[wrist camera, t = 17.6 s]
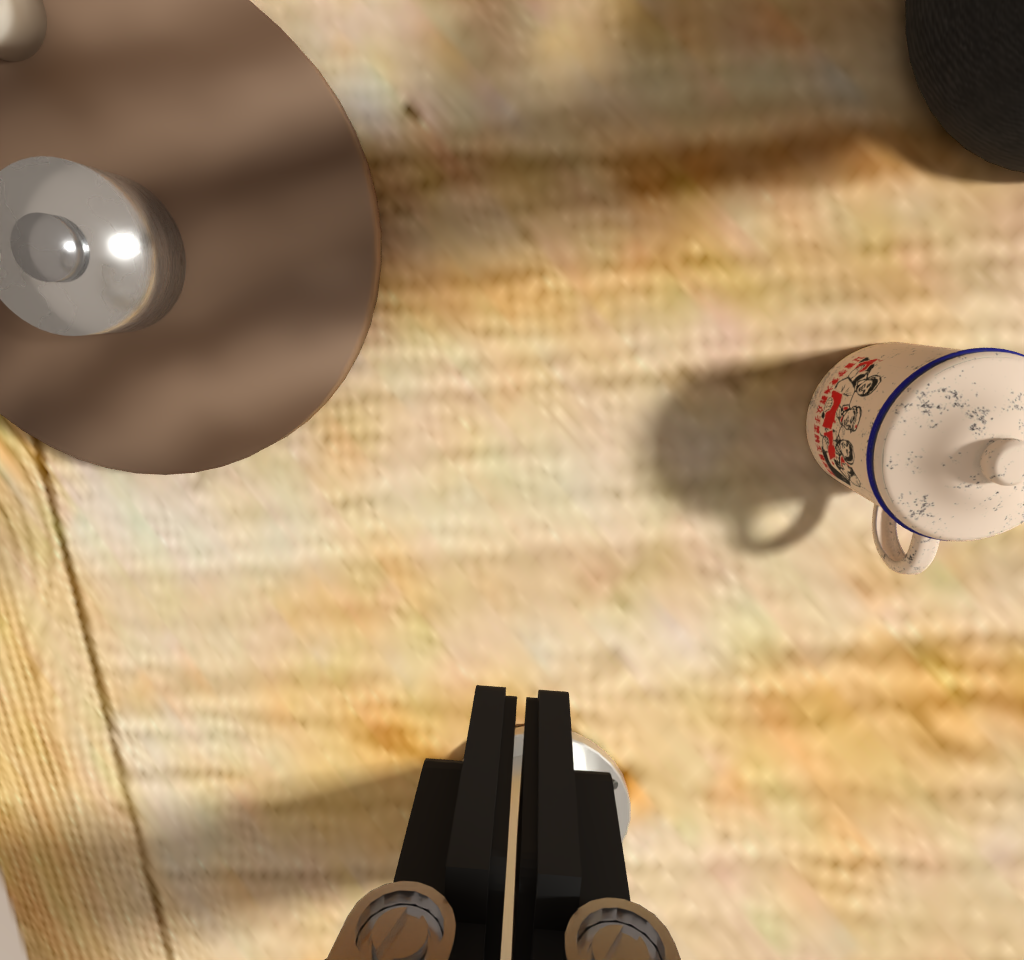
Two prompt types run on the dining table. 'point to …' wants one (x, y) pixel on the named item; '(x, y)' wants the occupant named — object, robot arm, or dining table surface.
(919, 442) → the teacup with lid
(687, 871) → the dining table surface
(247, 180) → the turntable
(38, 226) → the cap
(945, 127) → the toy pedestal armchair
